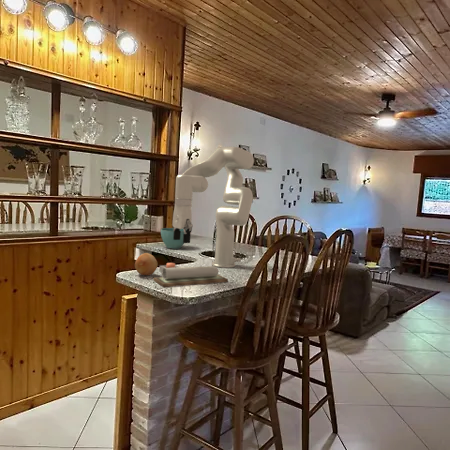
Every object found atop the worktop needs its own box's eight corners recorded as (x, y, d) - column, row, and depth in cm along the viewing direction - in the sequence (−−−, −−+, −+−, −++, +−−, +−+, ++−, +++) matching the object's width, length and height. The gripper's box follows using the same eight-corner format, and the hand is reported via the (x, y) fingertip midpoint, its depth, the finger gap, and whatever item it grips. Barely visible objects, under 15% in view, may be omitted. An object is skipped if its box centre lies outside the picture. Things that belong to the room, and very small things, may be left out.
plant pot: (155, 248, 241) (156, 229, 240) (166, 244, 259) (166, 227, 258) (182, 251, 237) (183, 231, 236) (191, 247, 255) (192, 229, 254)
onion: (158, 277, 165) (159, 255, 164) (134, 278, 163) (135, 255, 162) (156, 272, 175) (157, 251, 174) (134, 272, 172) (134, 251, 171)
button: (172, 268, 180) (173, 262, 180) (176, 270, 177) (176, 264, 177) (164, 269, 178) (165, 263, 178) (168, 271, 175) (168, 264, 175)
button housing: (174, 269, 183) (175, 264, 183) (181, 273, 176) (182, 268, 176) (159, 270, 179) (159, 265, 179) (165, 274, 172) (165, 269, 172)
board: (215, 276, 175) (215, 273, 175) (227, 281, 166) (227, 278, 166) (153, 280, 160) (153, 277, 160) (163, 287, 151) (163, 283, 150)
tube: (214, 266, 171) (161, 268, 159) (219, 264, 167) (166, 266, 155) (215, 277, 170) (162, 280, 158) (220, 276, 166) (166, 279, 154)
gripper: (167, 201, 173) (165, 238, 174) (184, 204, 158) (182, 244, 160) (182, 202, 177) (180, 238, 178) (200, 204, 162) (198, 244, 164)
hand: (181, 241), depth 169 cm, fingers open, 9 cm apart
